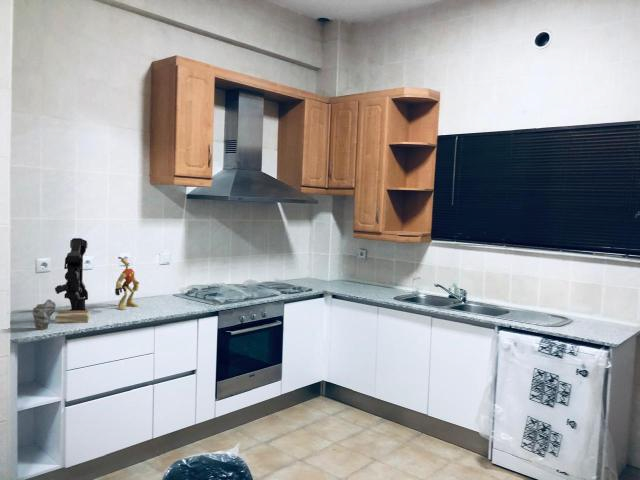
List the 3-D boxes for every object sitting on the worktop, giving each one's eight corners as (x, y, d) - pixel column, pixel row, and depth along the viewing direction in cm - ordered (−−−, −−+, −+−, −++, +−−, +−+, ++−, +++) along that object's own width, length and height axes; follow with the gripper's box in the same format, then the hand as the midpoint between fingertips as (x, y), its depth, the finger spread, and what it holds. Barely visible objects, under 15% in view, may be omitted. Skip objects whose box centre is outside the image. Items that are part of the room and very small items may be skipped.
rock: (31, 327, 259) (31, 296, 258) (43, 325, 264) (43, 295, 263) (43, 331, 252) (43, 300, 251) (55, 329, 256) (56, 299, 255)
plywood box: (58, 319, 278) (58, 311, 278) (89, 318, 283) (89, 310, 283) (55, 323, 269) (55, 315, 268) (87, 322, 274) (87, 314, 273)
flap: (59, 312, 278) (59, 311, 278) (88, 311, 282) (88, 310, 282) (58, 313, 274) (58, 312, 274) (87, 312, 278) (87, 311, 278)
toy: (120, 312, 299) (121, 259, 297) (107, 311, 301) (107, 258, 299) (142, 305, 322) (143, 255, 320) (129, 304, 324) (130, 255, 321)
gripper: (58, 276, 282) (58, 305, 283) (53, 282, 264) (53, 313, 265) (81, 276, 285) (81, 305, 286) (77, 281, 267) (77, 312, 269)
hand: (73, 309), depth 276 cm, fingers closed
